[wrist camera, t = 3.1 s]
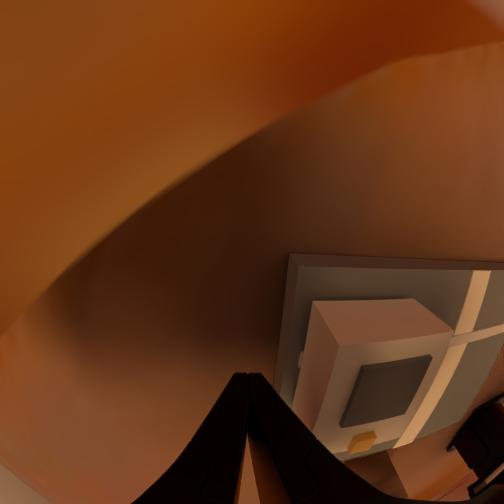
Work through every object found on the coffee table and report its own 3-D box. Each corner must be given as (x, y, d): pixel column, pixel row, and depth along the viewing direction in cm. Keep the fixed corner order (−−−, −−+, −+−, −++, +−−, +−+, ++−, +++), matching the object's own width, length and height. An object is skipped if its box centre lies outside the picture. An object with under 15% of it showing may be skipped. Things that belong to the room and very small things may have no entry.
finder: (413, 298, 9) (460, 335, 6) (377, 398, 10) (402, 442, 7) (312, 300, 8) (343, 352, 6) (291, 409, 10) (303, 464, 7)
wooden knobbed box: (385, 451, 14) (412, 507, 9) (370, 472, 15) (390, 523, 10) (344, 461, 14) (366, 524, 8) (331, 481, 15) (348, 537, 9)
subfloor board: (512, 263, 11) (530, 271, 9) (451, 409, 14) (461, 422, 12) (289, 252, 10) (299, 268, 8) (262, 450, 13) (264, 472, 11)
